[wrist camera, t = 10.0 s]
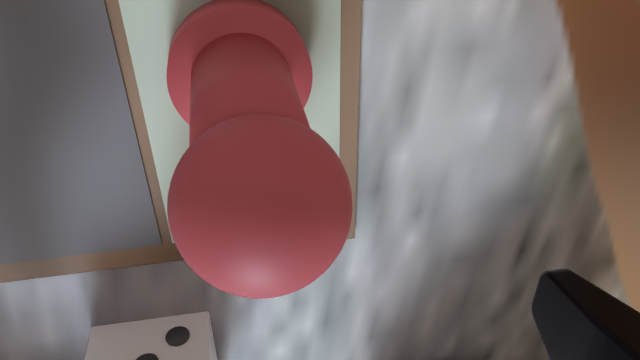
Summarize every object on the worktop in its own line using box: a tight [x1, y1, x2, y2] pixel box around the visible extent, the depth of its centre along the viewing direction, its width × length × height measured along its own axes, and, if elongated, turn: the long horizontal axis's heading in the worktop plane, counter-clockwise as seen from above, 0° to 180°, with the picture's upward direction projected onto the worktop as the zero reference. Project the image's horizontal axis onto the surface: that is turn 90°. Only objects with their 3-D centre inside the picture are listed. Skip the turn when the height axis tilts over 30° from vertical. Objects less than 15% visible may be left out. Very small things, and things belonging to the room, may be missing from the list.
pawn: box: [166, 0, 353, 298], centre depth 14 cm, size 4×4×10 cm
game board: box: [0, 0, 362, 283], centre depth 17 cm, size 22×16×1 cm
